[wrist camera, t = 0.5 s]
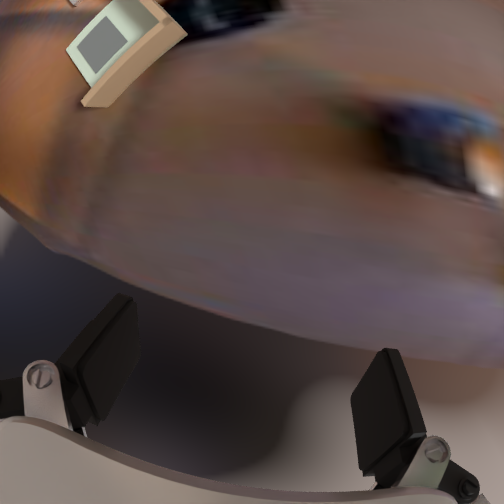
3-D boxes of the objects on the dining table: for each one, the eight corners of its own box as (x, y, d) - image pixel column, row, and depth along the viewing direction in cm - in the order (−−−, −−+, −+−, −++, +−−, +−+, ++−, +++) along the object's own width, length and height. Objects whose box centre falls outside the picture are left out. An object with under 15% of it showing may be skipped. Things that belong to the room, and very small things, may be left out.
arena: (136, -17, 25) (118, -31, 20) (188, 34, 29) (172, 21, 24) (68, 50, 30) (45, 46, 25) (108, 107, 35) (84, 106, 29)
